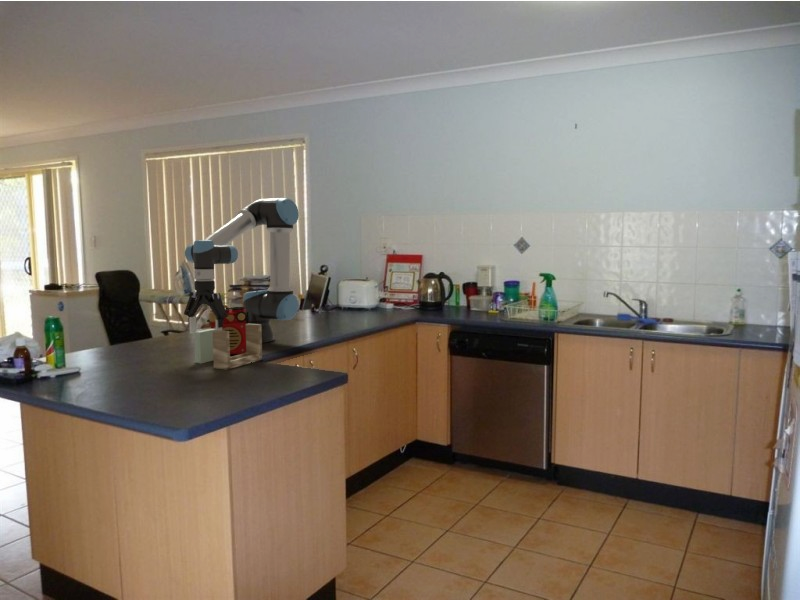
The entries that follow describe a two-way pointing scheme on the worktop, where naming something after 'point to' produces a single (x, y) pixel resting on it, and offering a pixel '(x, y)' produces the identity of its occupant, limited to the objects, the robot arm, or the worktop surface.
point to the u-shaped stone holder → (252, 354)
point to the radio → (234, 327)
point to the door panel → (203, 345)
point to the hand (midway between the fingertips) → (205, 334)
